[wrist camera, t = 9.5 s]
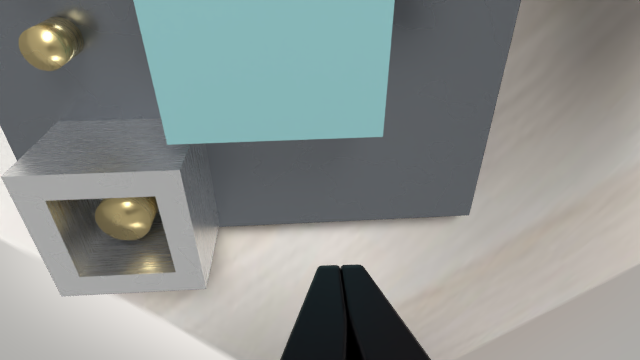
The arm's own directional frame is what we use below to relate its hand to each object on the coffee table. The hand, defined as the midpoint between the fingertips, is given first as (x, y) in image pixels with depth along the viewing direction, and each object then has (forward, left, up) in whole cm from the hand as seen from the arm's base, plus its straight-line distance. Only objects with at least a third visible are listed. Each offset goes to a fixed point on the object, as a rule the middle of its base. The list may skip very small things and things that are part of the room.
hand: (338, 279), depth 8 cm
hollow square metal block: (+7, +4, -10) cm, 13 cm away
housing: (+1, -4, -10) cm, 11 cm away
